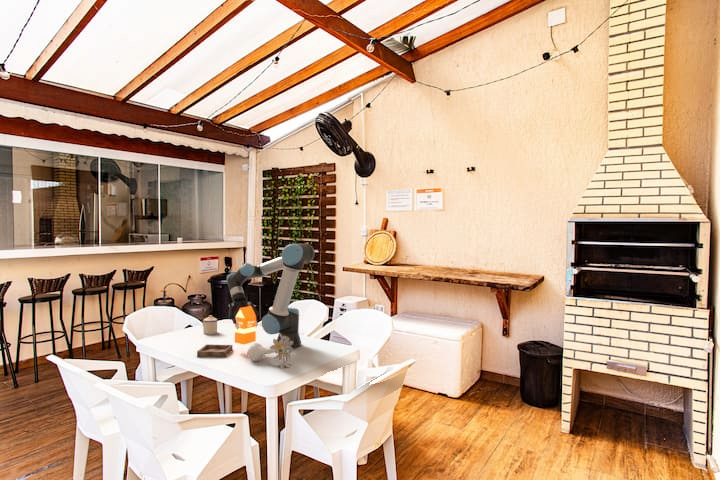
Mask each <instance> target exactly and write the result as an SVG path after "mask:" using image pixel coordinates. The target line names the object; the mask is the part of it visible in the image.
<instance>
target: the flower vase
mask: <svg viewBox="0 0 720 480" xmlns="http://www.w3.org/2000/svg"><path fill="white" fill-rule="evenodd" d="M278 335H280V337H281V340H280V341H279V342H277V338H276V339H275V338H273V340H272V342H273V345H270V346H269V347H264V346H263V345H261V344H260V343H253V344H251V346H250V347H249V348H248V349H247V356H248V358H249V359H250V360H252V362H259V361H261V360H262V359H263V358H264V356H266V355H268V354H272V353H273V354H276V355H275V356H274V358H273V359H275V360H276V359H278V361H282V362H281V363H279V364H277V365H276V367H279V369H284V368H285V367H286V368H291V364H290V363H288V361H289V359H292V357H293V356H292V353H293V352H294V351H295V350H294V348H293V349H292V347H291V346H290V345H292V344H293V343H294V342H293V341H290V342H289V337H286V336H283V337H282V334H280V333H278ZM283 340H285V341H284V343H283ZM282 359H283V360H282Z"/></svg>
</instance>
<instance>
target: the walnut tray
mask: <svg viewBox="0 0 720 480" xmlns="http://www.w3.org/2000/svg"><path fill="white" fill-rule="evenodd" d="M232 351H233V344H207V343H206V344H204V346H202V347H201V348H200V349H198V350H197V352H196V354H197V355H196V357H197V358H226V357H227V356H228V355H229V354H230V353H231V352H232Z"/></svg>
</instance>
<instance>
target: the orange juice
mask: <svg viewBox="0 0 720 480" xmlns="http://www.w3.org/2000/svg"><path fill="white" fill-rule="evenodd" d="M235 317H237V320H238V324H239V329H238V330H237V329H236V325H235V324H234V344H235V343H236V344H240V345H247V344H250V343H254V342H256V337H257V336H256V335H257V334H256V333H257V332H256V331H257V327H255V320H256V315H255V313H254V311H253V309H252V306H249V305H248V307H243V308H240V309H238V310H237V313H236V316H235Z"/></svg>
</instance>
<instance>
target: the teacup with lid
mask: <svg viewBox="0 0 720 480" xmlns="http://www.w3.org/2000/svg"><path fill="white" fill-rule="evenodd" d="M202 327H203V331H202V332H203V334H204V335H216V334H217V333H218V318H216V317H214V316H213V315H210V314H209V315H208V317H206V318H204V319H203V320H202Z"/></svg>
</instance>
